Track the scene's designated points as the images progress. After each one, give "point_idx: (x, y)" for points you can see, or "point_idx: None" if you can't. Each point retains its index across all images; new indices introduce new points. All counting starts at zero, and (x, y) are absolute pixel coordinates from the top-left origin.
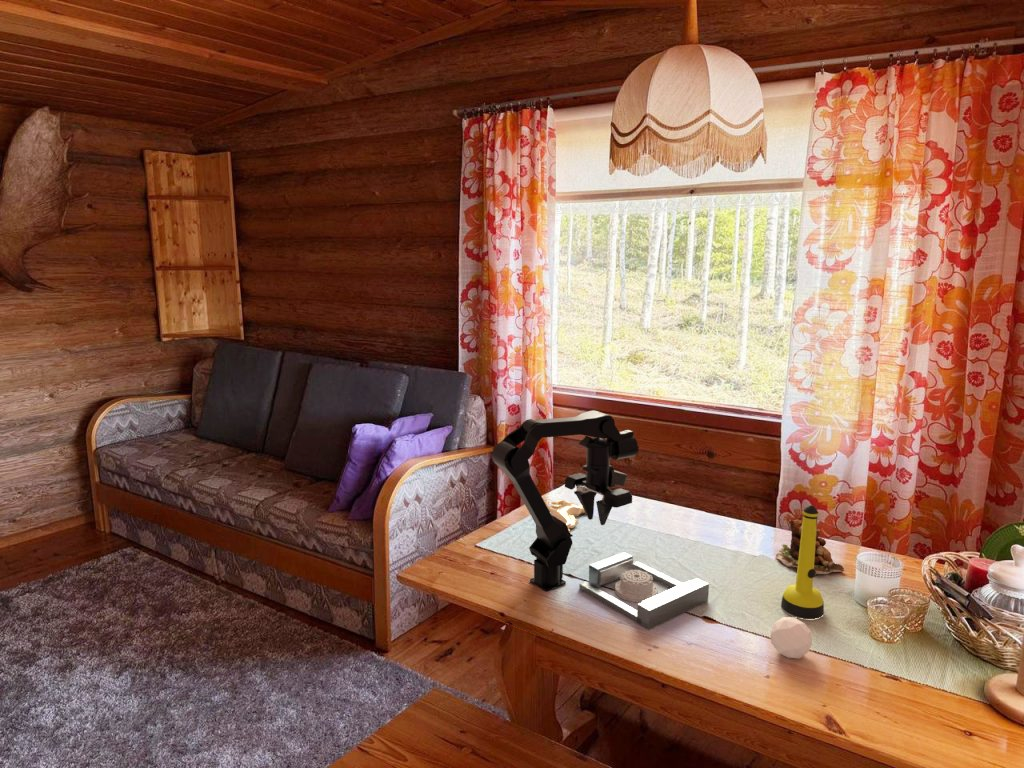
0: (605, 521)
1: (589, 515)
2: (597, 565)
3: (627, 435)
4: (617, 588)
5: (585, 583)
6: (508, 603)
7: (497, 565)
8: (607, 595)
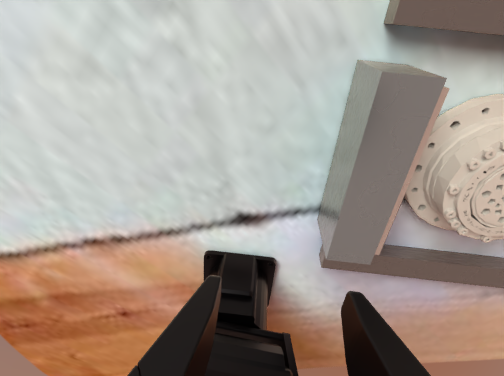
0: (376, 317)
1: (214, 330)
2: (353, 247)
3: None
4: (425, 214)
5: None
6: None
7: (93, 289)
8: (423, 266)
